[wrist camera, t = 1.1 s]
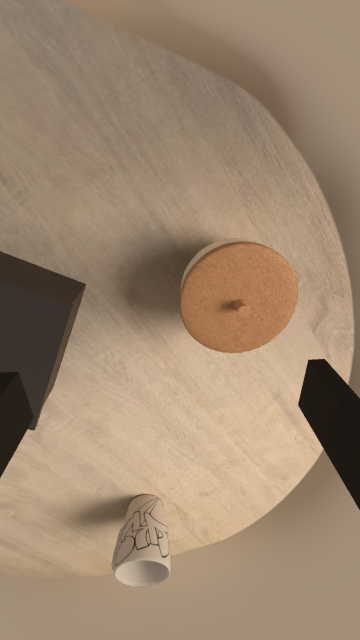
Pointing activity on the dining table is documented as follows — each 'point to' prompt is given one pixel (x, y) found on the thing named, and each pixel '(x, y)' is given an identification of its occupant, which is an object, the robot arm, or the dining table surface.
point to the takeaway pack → (35, 325)
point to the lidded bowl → (237, 295)
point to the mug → (143, 544)
